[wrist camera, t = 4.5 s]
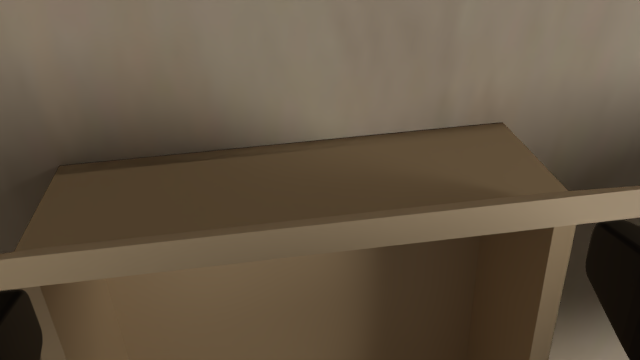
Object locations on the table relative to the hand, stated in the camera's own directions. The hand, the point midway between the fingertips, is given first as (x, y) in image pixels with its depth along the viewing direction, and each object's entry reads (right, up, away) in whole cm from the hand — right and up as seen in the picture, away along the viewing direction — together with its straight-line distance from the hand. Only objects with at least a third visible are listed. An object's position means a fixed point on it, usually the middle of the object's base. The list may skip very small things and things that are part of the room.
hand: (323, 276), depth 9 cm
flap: (0, 0, +2) cm, 2 cm away
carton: (-1, -3, +13) cm, 13 cm away
